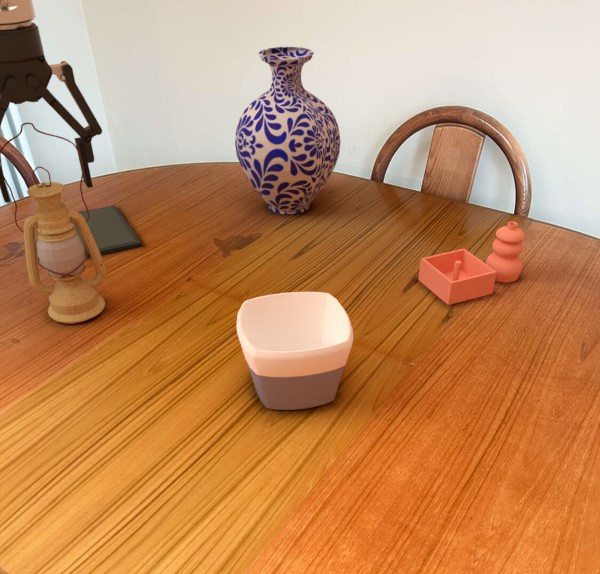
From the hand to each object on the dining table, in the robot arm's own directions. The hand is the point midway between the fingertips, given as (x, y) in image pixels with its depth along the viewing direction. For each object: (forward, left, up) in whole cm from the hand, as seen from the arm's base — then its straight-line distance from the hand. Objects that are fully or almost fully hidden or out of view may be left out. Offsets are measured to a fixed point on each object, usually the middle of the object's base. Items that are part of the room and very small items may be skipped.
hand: (48, 191), depth 97 cm
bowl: (+23, -35, -21) cm, 47 cm away
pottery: (+65, -23, -21) cm, 72 cm away
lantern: (0, 0, -20) cm, 20 cm away
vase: (+50, +22, -21) cm, 59 cm away
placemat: (+8, +28, -20) cm, 36 cm away
